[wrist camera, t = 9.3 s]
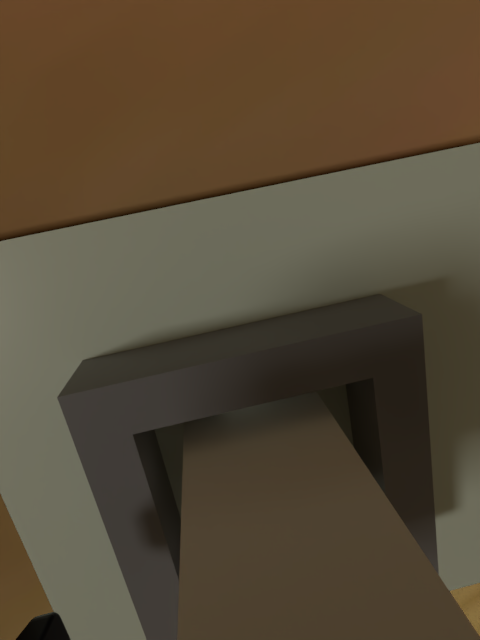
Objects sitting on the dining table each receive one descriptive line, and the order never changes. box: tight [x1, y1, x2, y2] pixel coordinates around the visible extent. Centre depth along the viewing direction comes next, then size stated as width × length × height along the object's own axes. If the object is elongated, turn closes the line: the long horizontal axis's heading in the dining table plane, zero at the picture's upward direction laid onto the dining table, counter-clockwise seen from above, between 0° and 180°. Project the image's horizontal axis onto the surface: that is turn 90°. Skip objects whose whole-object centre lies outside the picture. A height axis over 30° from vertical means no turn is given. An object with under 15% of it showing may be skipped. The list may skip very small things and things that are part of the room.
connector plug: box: [177, 391, 480, 640], centre depth 7 cm, size 4×4×8 cm
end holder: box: [0, 143, 480, 640], centre depth 11 cm, size 14×14×3 cm
